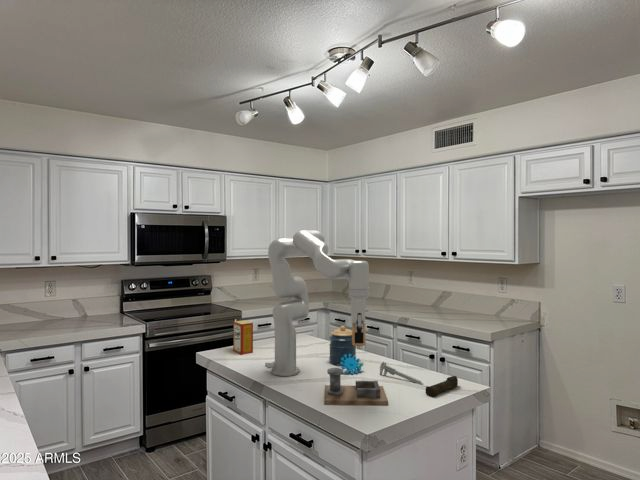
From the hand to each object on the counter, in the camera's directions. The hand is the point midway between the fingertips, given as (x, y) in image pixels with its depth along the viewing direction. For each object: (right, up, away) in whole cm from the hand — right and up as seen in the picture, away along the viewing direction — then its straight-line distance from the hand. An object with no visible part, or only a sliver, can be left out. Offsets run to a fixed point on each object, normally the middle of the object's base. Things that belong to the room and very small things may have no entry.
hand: (358, 340), depth 167 cm
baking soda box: (-55, -21, +65) cm, 88 cm away
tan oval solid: (0, -1, 0) cm, 1 cm away
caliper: (+20, -22, +21) cm, 36 cm away
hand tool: (+34, -22, +7) cm, 41 cm away
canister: (-4, -21, +46) cm, 51 cm away
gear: (0, -21, +30) cm, 37 cm away
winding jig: (-1, -21, 0) cm, 21 cm away
